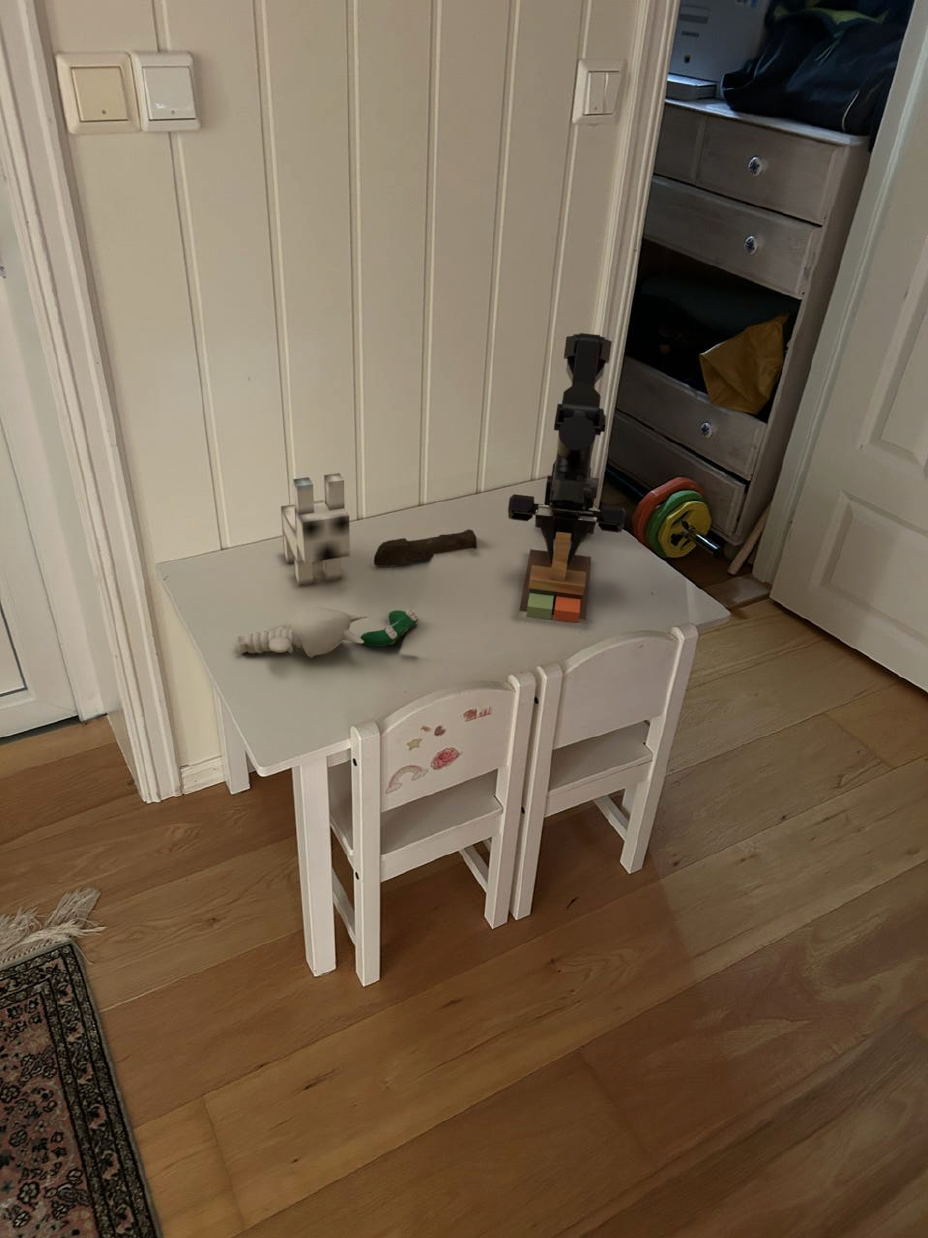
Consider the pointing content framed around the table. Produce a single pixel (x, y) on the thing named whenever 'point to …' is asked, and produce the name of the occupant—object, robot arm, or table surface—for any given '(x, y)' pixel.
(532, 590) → the brush
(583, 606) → the board
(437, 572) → the table surface
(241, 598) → the table surface
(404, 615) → the green stocking
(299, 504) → the white blocky toy rabbit
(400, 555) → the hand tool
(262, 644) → the toy creature
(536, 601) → the clay sage
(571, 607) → the clay terracotta
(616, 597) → the table surface
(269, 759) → the table surface
